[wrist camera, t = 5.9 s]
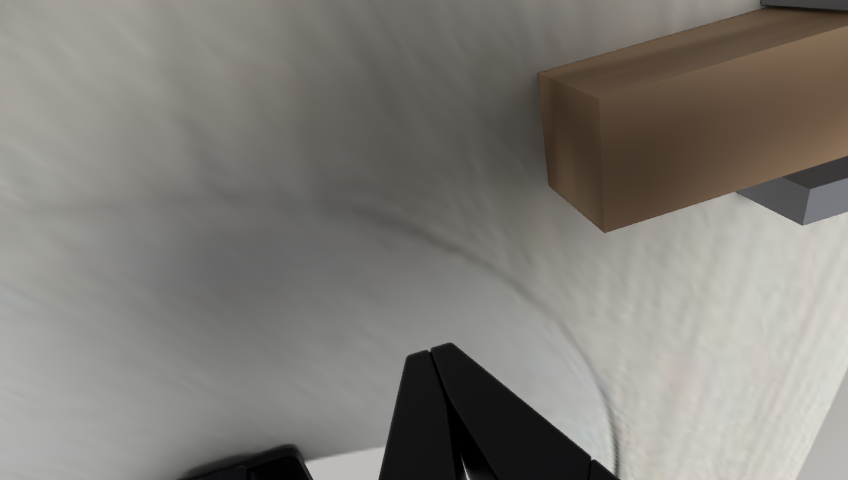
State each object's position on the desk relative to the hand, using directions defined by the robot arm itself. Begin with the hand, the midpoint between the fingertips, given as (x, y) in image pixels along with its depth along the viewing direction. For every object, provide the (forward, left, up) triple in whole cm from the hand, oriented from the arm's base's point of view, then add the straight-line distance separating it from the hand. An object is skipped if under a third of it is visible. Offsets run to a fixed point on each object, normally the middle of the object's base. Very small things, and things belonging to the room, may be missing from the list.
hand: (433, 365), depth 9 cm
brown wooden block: (0, -12, -9) cm, 15 cm away
